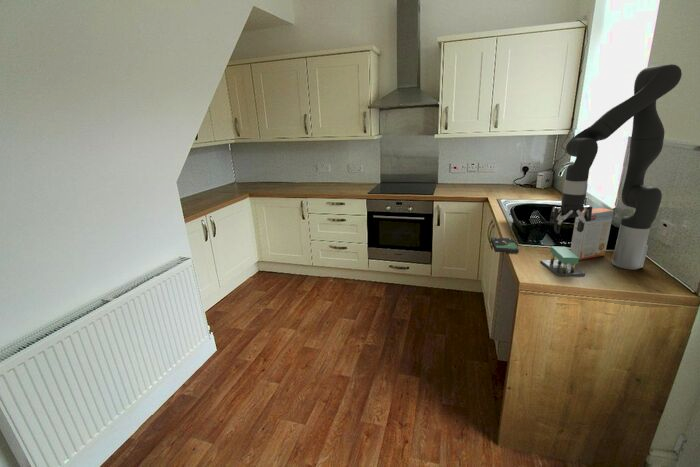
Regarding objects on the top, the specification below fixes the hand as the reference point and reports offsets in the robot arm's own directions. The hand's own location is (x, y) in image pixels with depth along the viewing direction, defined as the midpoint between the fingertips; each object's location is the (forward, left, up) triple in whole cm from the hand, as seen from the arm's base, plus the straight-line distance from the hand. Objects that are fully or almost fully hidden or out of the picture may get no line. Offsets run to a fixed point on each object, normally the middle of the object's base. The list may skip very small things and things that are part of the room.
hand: (568, 232), depth 134 cm
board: (0, 0, -11) cm, 11 cm away
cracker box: (-18, -13, -16) cm, 27 cm away
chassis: (0, 0, -16) cm, 16 cm away
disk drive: (+13, -26, -17) cm, 34 cm away
